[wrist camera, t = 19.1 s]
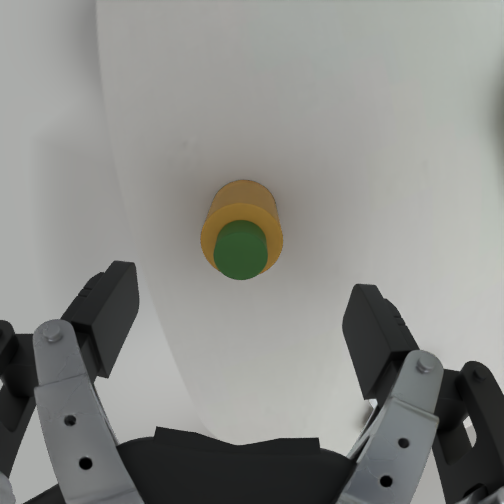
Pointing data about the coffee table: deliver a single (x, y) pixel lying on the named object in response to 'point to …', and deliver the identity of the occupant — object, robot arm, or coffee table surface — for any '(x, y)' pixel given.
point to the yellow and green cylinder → (242, 230)
